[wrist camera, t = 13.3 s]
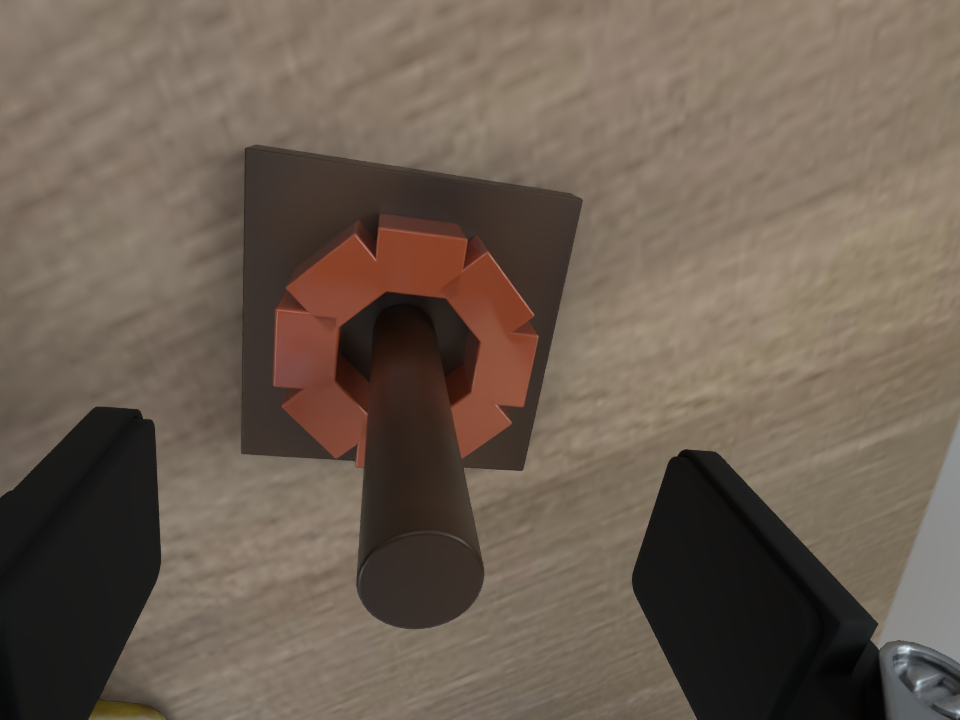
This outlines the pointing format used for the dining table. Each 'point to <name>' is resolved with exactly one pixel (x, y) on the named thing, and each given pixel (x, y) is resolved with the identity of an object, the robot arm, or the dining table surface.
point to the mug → (124, 711)
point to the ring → (406, 270)
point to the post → (399, 359)
